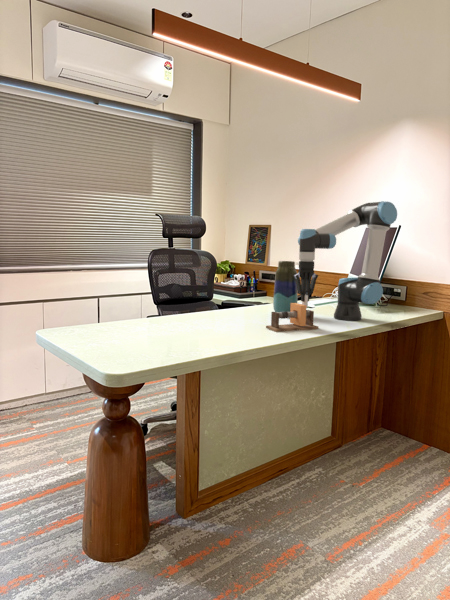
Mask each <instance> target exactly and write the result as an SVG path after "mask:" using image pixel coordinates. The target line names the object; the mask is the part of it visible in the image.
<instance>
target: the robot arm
mask: <svg viewBox="0 0 450 600" xmlns="http://www.w3.org/2000/svg"><path fill="white" fill-rule="evenodd" d="M397 218H398V210H397V207H396V205H395V204H394V203H393V202H391V201H383V200H381V201H375V202H374V201H373V202H366V203H363V204H362V205H358V206H357V207H355V208H353V209H351V210H348V212H346V214H345V215H343V216H340V217H339V218H337V219H334V220H332V221H330V222H328V223H327V224H324V225H322V226H320V227H318V228H316V229H315V228H301V229H300V231H299V232H300V233H299V236H298V239H297V243H298V245H299V253H298V260H299V261H298V271H297V274H296V275H294V278H295V280H296V286H297V295H298V294H299V295H300V297H301V298H300V302H301V304H302V305H306V309H308V305H309V304H308V303H309V302H310V296H311V295H312V294H313V293H314V289H315V286H316V282H317V279H318V278H319V275H318V274H316V273H315V270H314V268H315V258H316V256H315V255H316V253H315V252H316V249H321V250H322V249H323V250H324V249H325V250H330V249H334V248H335V247H336V245H337V237H336V236H337V235H340V234H341V233H343V232H345V231H347V230H350V229H352V228H357V227H360V226H364V225H366V226H367V228H368V235H367V241H366V246H365V251H364V252H365V253H364V258H363V261H362V262H363V263H362V268H361V274H359V275H358V276H357V277H343V278H339V280H338V284H337V287H338V288H337V289H338V290H337V304H336V308H335V310H334V313H333V319H335V320H340V321H341V320H342V321H353V322H354V321H360V320H362V317H363V316H362V312H361V308H360V303H361V304H365V305H373V304H377V303H378V302H379V301H380V300H381V298H382V296H383V294H384V288H383V286H382V285H381V278H379V273H380V272H379V271H380V267H381V262H382V257H383V251H384V247H385V246H384V245H385V241H386V240H385V239H386V235H387V231H389V230H390V228H391V225H392V224H394V223H395V222H396V220H397Z"/></svg>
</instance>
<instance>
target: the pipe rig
mask: <svg viewBox="0 0 450 600" xmlns="http://www.w3.org/2000/svg"><path fill="white" fill-rule="evenodd" d="M270 313H271V318H270V321H271V322H270V323H271V324H270V325H265V329H267V330H270V331H272V332H274V333H278V332H280V333H281V332H291V331H292V332H293V331H306V330H307V331H308V330H309V331H310V330H319V329H320V328H319V326H318V325H315V324H314V316H315V314H314V313H315V311H314V310H311V309H310V310H309V309H306V326H298V325H295V324H293V323H287V324H280V320H281V319H282V320H283V319H290V318H295V317H297V313H298V311H294V312H287V311H286V312H275V311H271V312H270Z"/></svg>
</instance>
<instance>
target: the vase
mask: <svg viewBox="0 0 450 600" xmlns="http://www.w3.org/2000/svg"><path fill="white" fill-rule="evenodd" d="M297 273H298V271H297V269H296V261H294V260H293V261H292V260H279V261H278V263H277V269H276V270H275V276H274V287H273V299H272V300H273V304H272V305H273V312H286V311H287V312H290V306H291V303H298V291H297V286H296V280H295V278H294V275H296V274H297Z"/></svg>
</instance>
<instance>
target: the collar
mask: <svg viewBox="0 0 450 600" xmlns="http://www.w3.org/2000/svg"><path fill="white" fill-rule="evenodd" d="M306 310H307V308H306V305H302V303H298V302H297V303H291V306H290V312H294V311H298V313H297V317H295V318H289V324H295V325H298V326H306Z"/></svg>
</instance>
